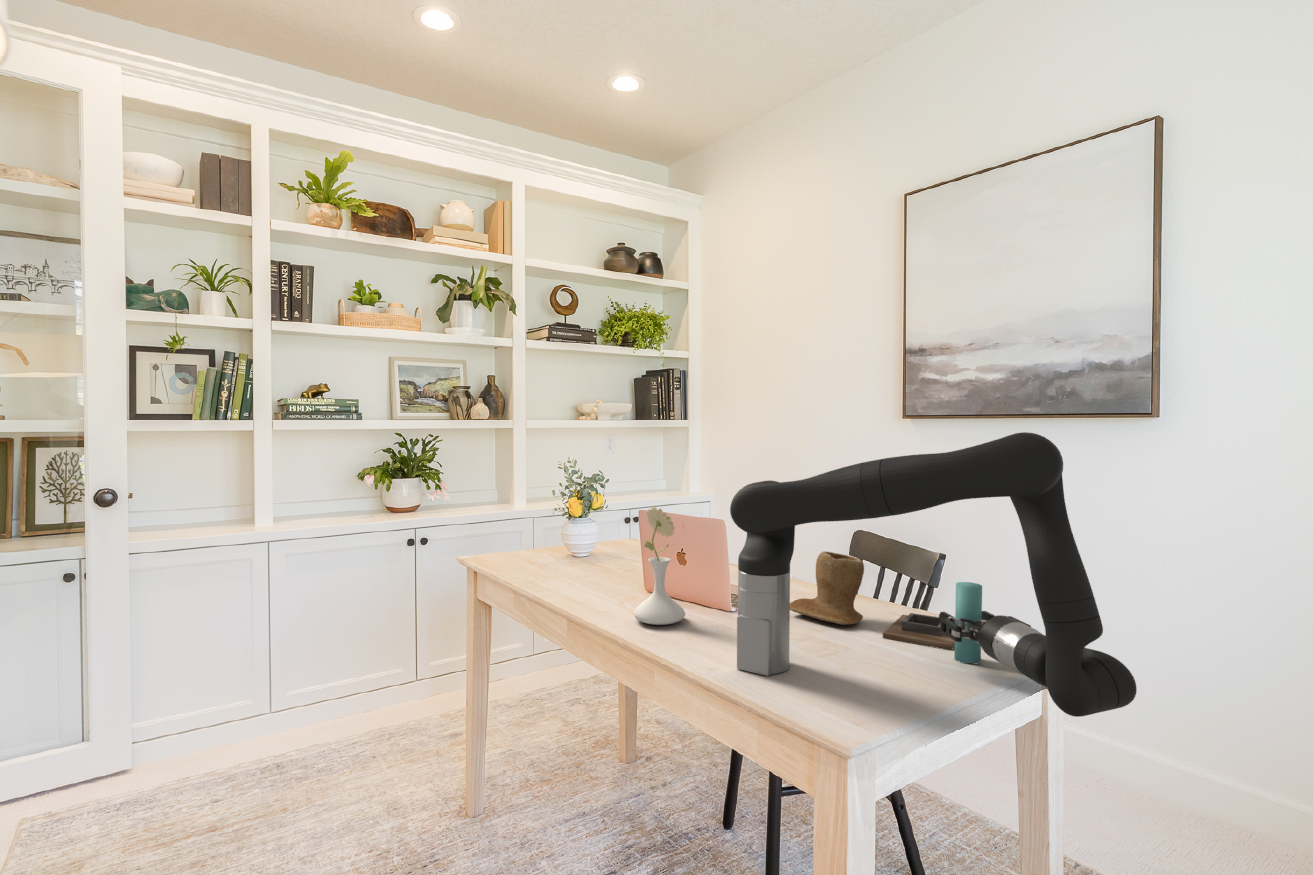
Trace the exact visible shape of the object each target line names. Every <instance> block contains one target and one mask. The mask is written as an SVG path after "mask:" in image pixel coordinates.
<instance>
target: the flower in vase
mask: <svg viewBox="0 0 1313 875" xmlns="http://www.w3.org/2000/svg"><path fill="white" fill-rule="evenodd" d="M647 511H649V512H647ZM645 513H646V515H645V517H646V521H647V522H649V525H650V526H651V527H652V529H653V534H652V537H651V542H650V541H649V540H646V541H645V543H644V545H643V546H644V548H647V549H648V550H650V551H654V553H655V557H654V556H652V557H650V558H648V562H649V563H650V565H651V567H652V570H653V576H654V579H653V580H654V588H653V591H652V593H651V595H650V596H648V597H647V598H646V599H645V600H643V601H642V602H641V603H639V605H638V606H637V607H636V608H635V609H634V612H633V615H634V618H635V619H636V620H637V621H638V622H641V623H644V624H648V625H657V626H660V625H661V626H662V625H663V626H664V625H672V624H676V623H678V622H680V621H683V619H684V618H685V616H686V611H685V609H684V608H683V607H682V606H681V605H680V604H679V603H678V602H677V601H676V600H674V599H673V598H672V597H671V596H670V595H669V594H668V593H667V591H666V585H665V584H666V583H665V581H666V580H665V579H666V573H667V568H668V565H669V563H670V562H671V560H672V559H671V558H670V557H669V558H668V557H666V556H665V557H664V556H658V555H659V554H658V553H659V552H661V551H663V550H665V549H666V548H668V547H669V544H666V546H665V547H662V548H660V549H658V550H657V551H656V547H655V545H654V539H655V534H656V533H658V534H660V535H662V536H665V537H666V538H668V537H671V536H672V535H674V534H675V533H674V530H675V526H674V522H673V521H672V517H671V516H670V515H668V514H667V513H666V512H663V509H662V508H658V509H657V507H656V506H653V507H651V508H648V509H647V510H646V511H645Z"/></svg>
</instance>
